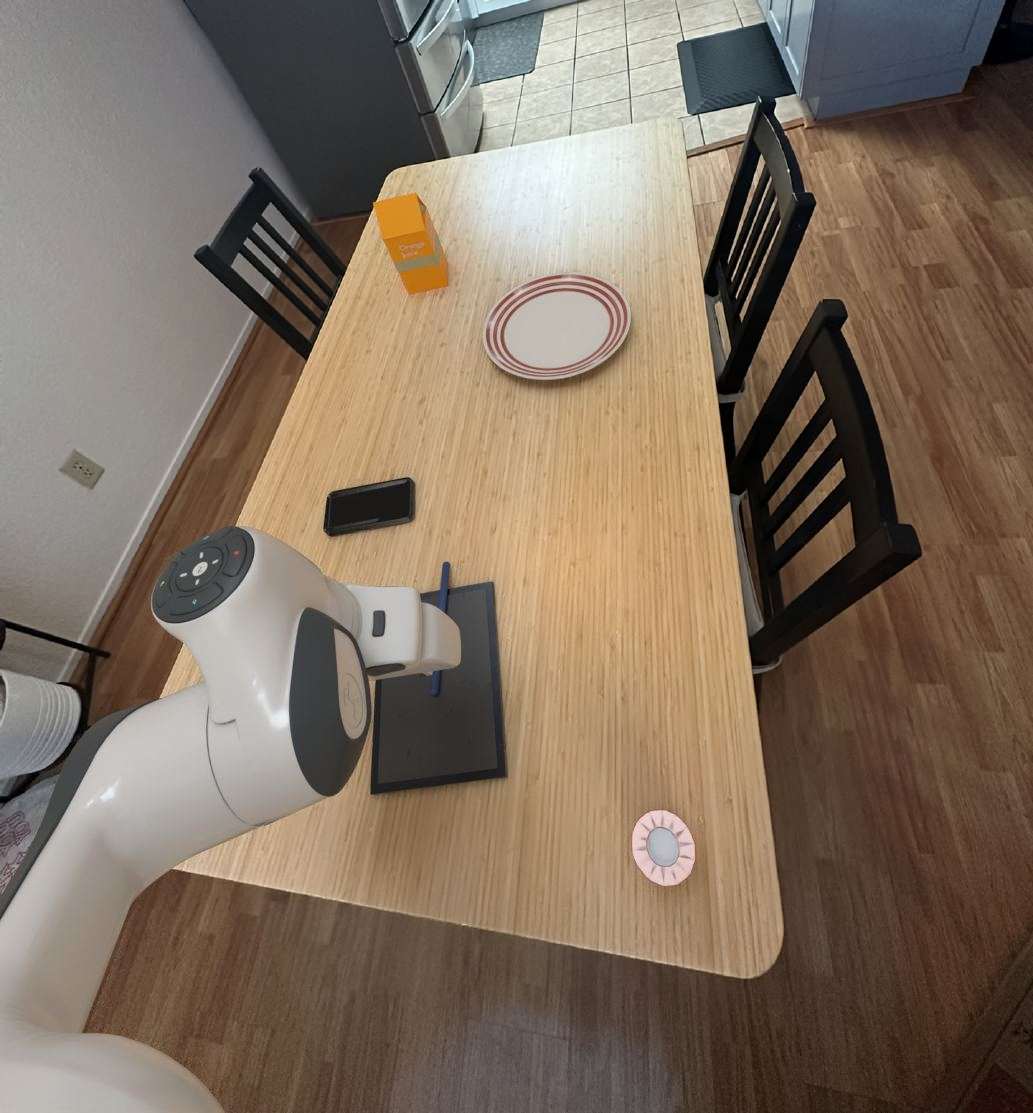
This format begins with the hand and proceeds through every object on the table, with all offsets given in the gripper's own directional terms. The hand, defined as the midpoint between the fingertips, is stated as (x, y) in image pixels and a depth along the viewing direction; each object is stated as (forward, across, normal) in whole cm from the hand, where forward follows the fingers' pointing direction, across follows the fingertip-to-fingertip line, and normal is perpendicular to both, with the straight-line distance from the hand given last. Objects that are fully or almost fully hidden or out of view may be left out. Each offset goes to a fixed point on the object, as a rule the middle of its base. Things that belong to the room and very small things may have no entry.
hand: (382, 674), depth 60 cm
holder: (+19, +25, -17) cm, 36 cm away
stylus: (+17, +1, +10) cm, 20 cm away
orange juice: (+18, -1, +85) cm, 87 cm away
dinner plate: (+19, +24, +61) cm, 68 cm away
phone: (+18, -11, +31) cm, 38 cm away
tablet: (+19, 0, +3) cm, 19 cm away
